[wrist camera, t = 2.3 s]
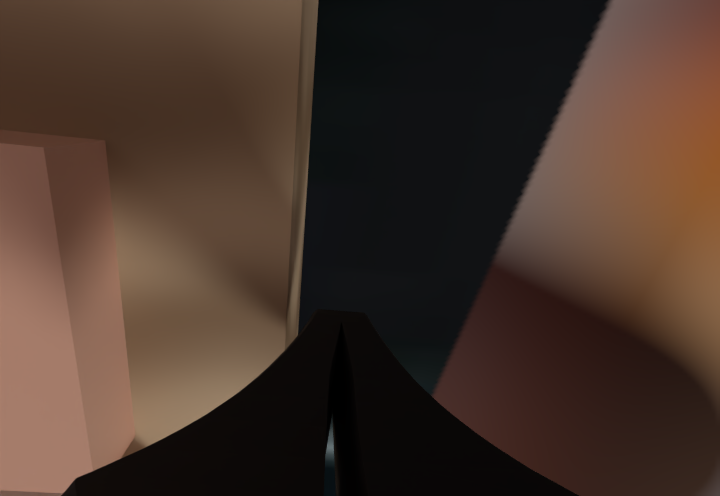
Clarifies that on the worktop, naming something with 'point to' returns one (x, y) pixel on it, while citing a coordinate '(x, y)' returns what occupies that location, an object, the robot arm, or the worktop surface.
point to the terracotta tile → (59, 315)
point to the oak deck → (182, 174)
